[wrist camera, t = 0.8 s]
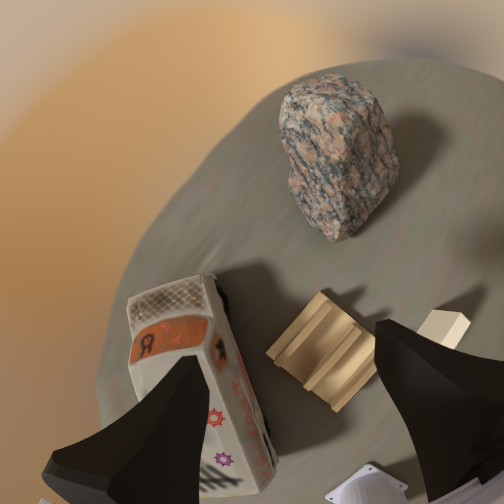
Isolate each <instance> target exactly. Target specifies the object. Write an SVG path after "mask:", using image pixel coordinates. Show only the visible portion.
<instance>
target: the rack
mask: <svg viewBox="0 0 504 504" xmlns="http://www.w3.org/2000/svg"><path fill="white" fill-rule="evenodd" d="M374 350H375V337H374V336H373V335H371V334H370V333H369V332H368V331H367V330H365V329H364V328H363V327H362V326H361V325H360V324H358V323H357V322H356V321H355V320H354V319H352V318H351V317H350V316H349V315H348V314H346V313H345V312H344V311H343V310H342V309H340V308H339V307H338V306H337V305H336V304H334V303H333V302H332V301H331V300H330V299H328V298H327V297H326V296H325V295H324V294H322V293H321V292H320V291H318V293H317V294H316V295H315V296H314V298H313V299H312V300H311V301H310V302H309V304H308V305H307V306H306V307H305V308H304V309H303V311H302V312H301V313H300V314H299V315H298V317H297V318H296V319H295V320H294V321H293V322H292V323H291V325H290V326H289V327H288V328H287V329H286V330H285V331H284V333H283V334H282V335H281V336H280V337H279V338H278V339H277V341H276V342H275V343H274V344H273V345H272V346H271V347H270V348H269V349H268V350H267V352H266V354H267V355H268V356H269V357H271V358H272V359H273V360H274V362H273V363H274V364H275V365H276V366H278V367H280V366H281V367H283V368H284V369H285V370H286V371H288V372H289V373H290V374H291V375H292V376H294V377H295V378H296V379H297V380H299V381H300V382H301V383H302V384H303V387H304V388H305V389H306V390H308V391H310V390H311V391H313V392H314V393H315V394H317V395H318V396H319V397H320V398H322V399H323V400H324V401H326V402H327V403H328V404H330V405H331V409H333V410H334V411H335V412H338V411H339V410H340V409H341V408H342V407H343V406H344V405H345V404H346V403H347V402H348V401H349V400H350V399H351V398H352V397H353V396H354V395H355V394H356V393H357V392H358V390H359V389H360V388H361V387H362V386H363V385H364V384H365V383H366V382H367V381H368V380H369V378H370V377H371V376H372V375H373V374H374V373H375V372H376V370H377V368H376V366H375V363H374Z"/></svg>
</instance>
